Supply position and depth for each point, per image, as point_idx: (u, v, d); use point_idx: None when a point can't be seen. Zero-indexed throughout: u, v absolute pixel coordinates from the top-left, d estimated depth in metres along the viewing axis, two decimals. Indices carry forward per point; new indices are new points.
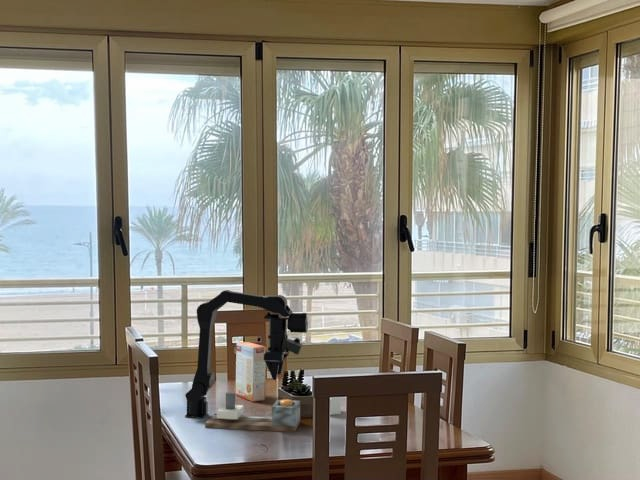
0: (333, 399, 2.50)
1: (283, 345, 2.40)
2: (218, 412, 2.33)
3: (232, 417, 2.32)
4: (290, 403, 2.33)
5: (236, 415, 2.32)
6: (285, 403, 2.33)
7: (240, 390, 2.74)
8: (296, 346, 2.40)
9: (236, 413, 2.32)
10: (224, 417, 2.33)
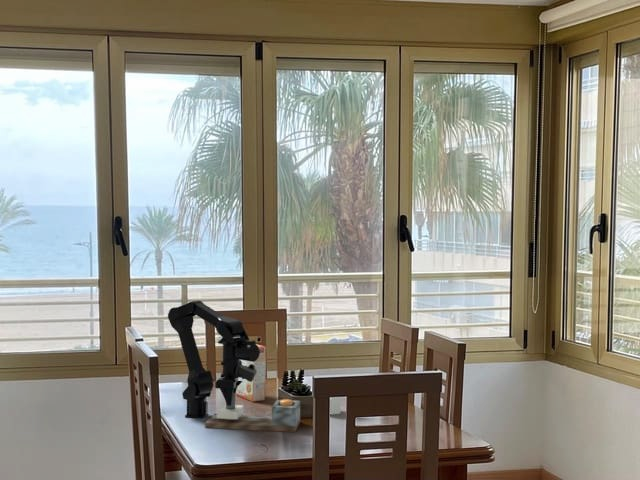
0: (333, 399, 2.50)
1: (236, 372, 2.34)
2: (218, 412, 2.33)
3: (232, 417, 2.32)
4: (290, 403, 2.33)
5: (236, 415, 2.32)
6: (285, 403, 2.33)
7: (240, 390, 2.74)
8: (249, 373, 2.34)
9: (236, 413, 2.32)
10: (224, 417, 2.33)
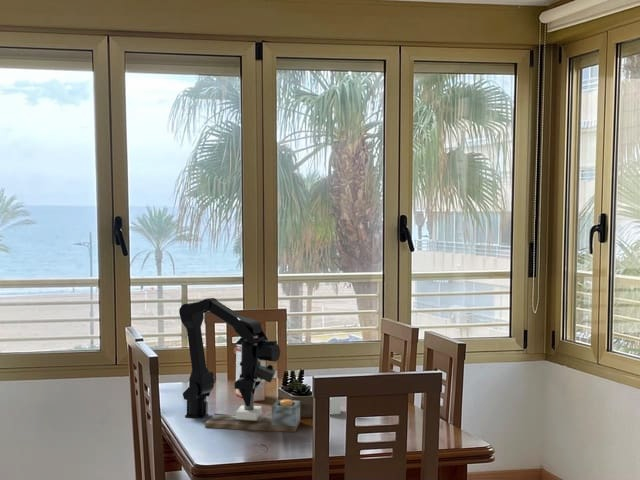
0: (333, 399, 2.50)
1: (255, 372, 2.33)
2: (237, 413, 2.32)
3: (251, 418, 2.32)
4: (290, 403, 2.33)
5: (255, 416, 2.31)
6: (285, 403, 2.33)
7: None
8: (268, 374, 2.33)
9: (255, 414, 2.31)
10: (243, 418, 2.32)
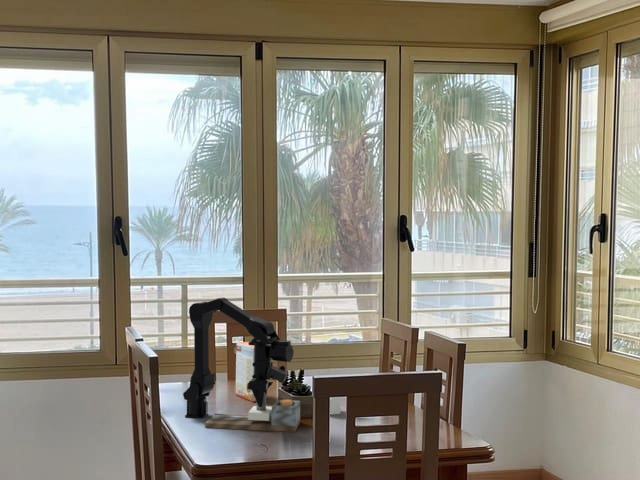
0: (333, 399, 2.50)
1: (268, 373, 2.32)
2: (249, 413, 2.32)
3: (263, 418, 2.31)
4: (290, 403, 2.33)
5: (267, 416, 2.31)
6: (285, 403, 2.33)
7: (240, 390, 2.74)
8: (281, 374, 2.32)
9: (267, 414, 2.31)
10: (255, 418, 2.31)
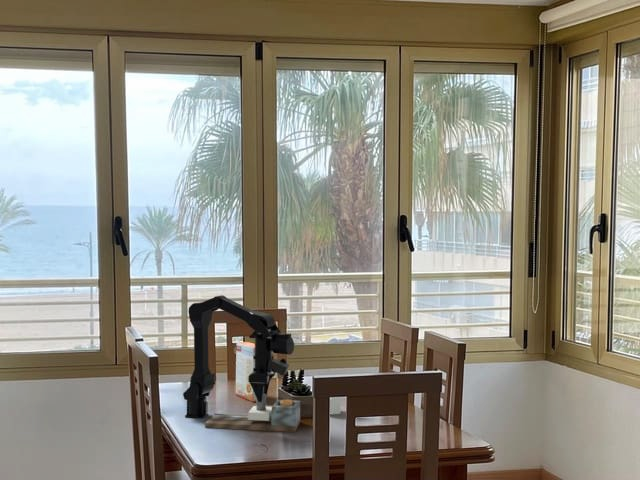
0: (333, 399, 2.50)
1: (269, 366, 2.32)
2: (249, 413, 2.32)
3: (263, 418, 2.31)
4: (290, 403, 2.33)
5: (267, 416, 2.31)
6: (285, 403, 2.33)
7: (240, 390, 2.74)
8: (282, 367, 2.32)
9: (267, 414, 2.31)
10: (255, 418, 2.31)
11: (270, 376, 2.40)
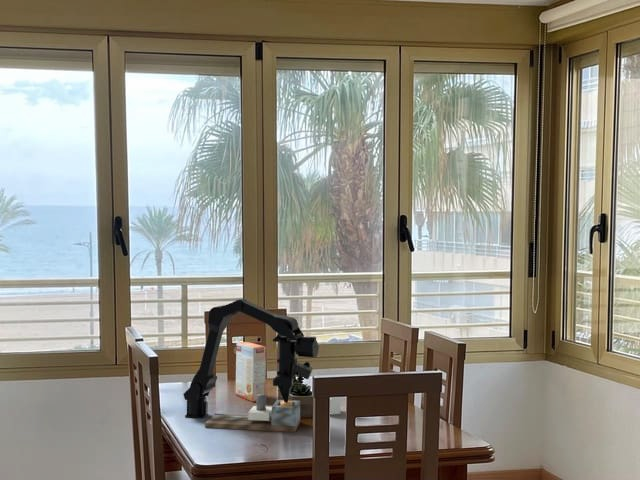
0: (333, 399, 2.50)
1: (293, 369, 2.31)
2: (249, 413, 2.32)
3: (263, 418, 2.31)
4: (290, 404, 2.33)
5: (267, 416, 2.31)
6: (285, 404, 2.33)
7: (240, 390, 2.74)
8: (306, 370, 2.32)
9: (267, 414, 2.31)
10: (255, 418, 2.31)
11: None
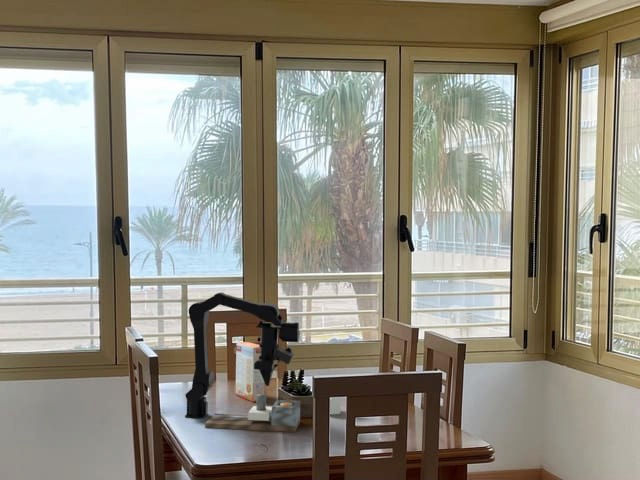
0: (333, 399, 2.50)
1: (274, 354, 2.40)
2: (249, 413, 2.32)
3: (263, 418, 2.31)
4: None
5: (267, 416, 2.31)
6: None
7: (240, 390, 2.74)
8: (287, 356, 2.40)
9: (267, 414, 2.31)
10: (255, 418, 2.31)
11: None
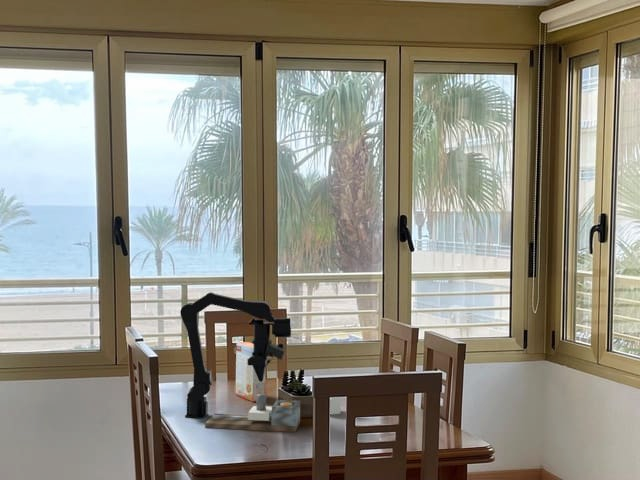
0: (333, 399, 2.50)
1: (267, 350, 2.45)
2: (249, 413, 2.32)
3: (263, 418, 2.31)
4: None
5: (267, 416, 2.31)
6: None
7: (240, 390, 2.74)
8: (280, 351, 2.45)
9: (267, 414, 2.31)
10: (255, 418, 2.31)
11: None
